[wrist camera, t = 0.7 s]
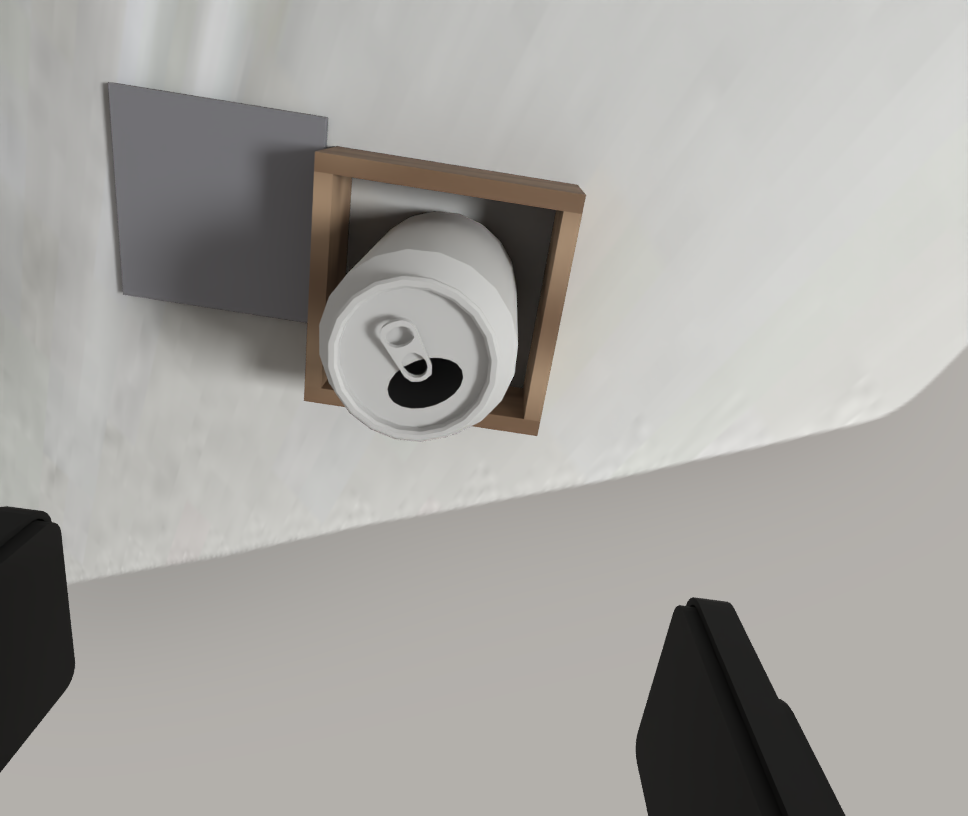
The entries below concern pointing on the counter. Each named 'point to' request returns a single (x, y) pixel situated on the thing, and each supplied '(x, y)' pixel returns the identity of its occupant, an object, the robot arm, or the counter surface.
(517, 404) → the walnut box
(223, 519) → the counter surface
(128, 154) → the rubber mat
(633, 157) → the counter surface
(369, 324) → the can
